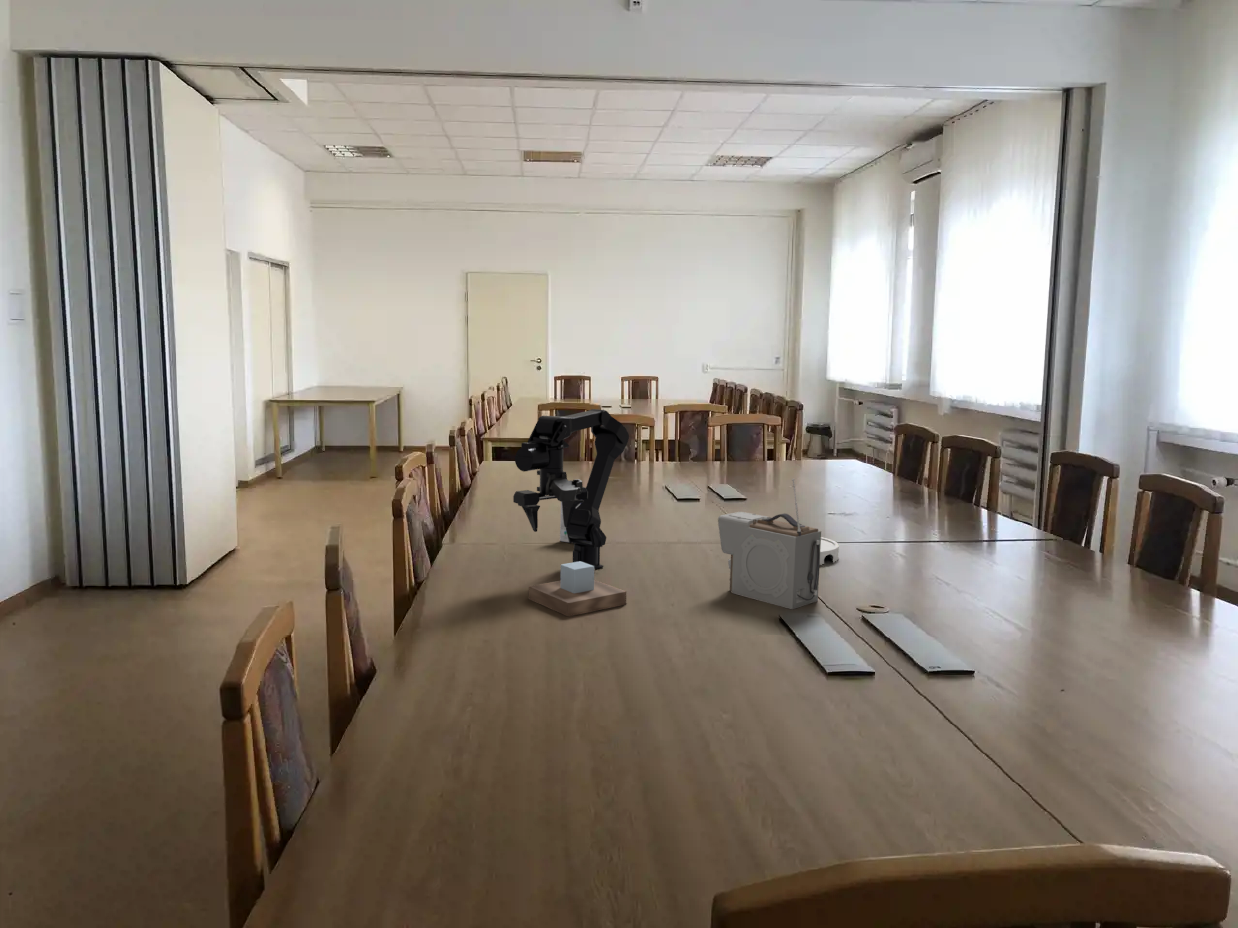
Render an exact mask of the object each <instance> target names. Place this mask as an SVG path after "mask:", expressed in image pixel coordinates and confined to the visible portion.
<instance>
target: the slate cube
mask: <svg viewBox="0 0 1238 928" xmlns="http://www.w3.org/2000/svg"><path fill="white" fill-rule="evenodd" d="M594 579H595V569H594V566H592V565H590V564H587V563H584V562H581V561H579V562H573V561H572V562H568V563H562V564H560V581H561V582H560V588H562V589H564V590H567V591H569V592H572V593H580V592H585V591H590V590H594Z"/></svg>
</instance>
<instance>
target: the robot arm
mask: <svg viewBox="0 0 1238 928" xmlns="http://www.w3.org/2000/svg"><path fill="white" fill-rule="evenodd" d="M589 428H590V432H591V434H592V435H593V436H594V437H595V438H594V447H595V452H596V455H595V457H594V458H595V459H594V462H593V463H592V464H593V465H592V468H591V471H590V474H589V478H588V481H587V482H586V486H585V487H584V486H583V481H582V480H581V479H580V478H578V479H576V478H575V479H573V480H569V479H568V475H567V472H566V471H564V449H567V448H569V447H570V445H569V444H568V443H567V442H566V441H565V439H567V438H569V437H571V435H572V433H574V432H578V431H582V430H585V429H589ZM629 438H630V435H629V432H628V430H627V428H626V427H625V426H624V425H623V424H622V423H621V422H620V421H619V420H617V419H616V418H615V417H613V416H611V414H610V413H609V411H607V410H605V409H599V408H591V409H589V410H587V411H586V410H585V411H582V412H578V413H574V414H573V413H572V414H568V415H565V416H561V415H560V416H558V415H557V416H556V415H541V416H539V417H538V419H537V421H536V423H535V425H534V427H533V430H532V431H531V434H530V435H529V437H528V440H527V442H521V447H520V448H519V449H518V450H517V451H516V453H515V455H514V462H515V465H516V466H515V467H517V469H518V470H520V471H521V472H523V473H524V472H529V471H536V475H537V476H539V486H536V491H533V490H529V489H525V490H517V491H515V492H514V494H513V496H512V500H513V503H514V504H517V505H518V507H521V508H522V510H523V512H524V513H525V515H526V517H527V519H528V521H529V525H530V526H531V529H532V530H533V532H535V533H536V532H538V527H539V526H538V525H539V524H538V522H539V519H538V511H539V509H540V507H541V505H539V502H540V501H544V500H553V499H554V500H555V499H557V501H559V502H560V503H561V502H562V508H563V521H564V526H565V527H566V531H567V535H568V540H569V542H568V543H569V544H573V550H572V563H573V562H579V561H581V562H584V563H587V564H590V565H592V566H594V570H595V569H601V568H604V565H603V564H601V548H602V547H603V546H605V545H606V542H607V536H606V535H605V533H604V532H603V530H602V529H601V523H602V519H601V515H600V507H601V504H602V501H603V498H604V495H605V491H606V488H607V486H608V485H607V484H608V482H609V479H610V475H611V472H612V470H613V467H614V462H615V460H616V459H617V458H618V457H620V455H622V453H624V452H625V449H626V446H627V444H628V442H629ZM580 503H581V504H580ZM579 504H580V505H579ZM578 505H579V506H578ZM577 506H578V507H577ZM576 507H577V508H576Z"/></svg>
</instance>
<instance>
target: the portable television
mask: <svg viewBox="0 0 1238 928" xmlns="http://www.w3.org/2000/svg"><path fill="white" fill-rule="evenodd" d="M791 481H792V486H793V493H794V494H793V495H794V504H795V505H794V506H795V514H796V515H795V516H796V520H795V519H794V517H792V516H791V515H790V514H788V513H785V512H784V513H780V514H776V515H774V516H772V517H771V516H767V515H761V514H756V513H751V512H745V511H736V512H731V513H726V514H722V515H721V514H720V515H719V516H718V518H717V523H718V524H717V525H718V534H719V539H720V546H721V547H720V549H721V551H722V553H724V554H727V555H730V559H728V560H727V563H728V569H729V570H730V571H729V572H730V574H729V592H731V593H732V594H734V595H739V596H741V597H745V598H750V599H753V600H757V601H758V602H759V601H760V602H764V603H767V604H771V605H774V606H778V607H782V608H786V609H790V610H795V609H798V608H801V607H804V606H807V605H809V604H813V603H816V602H818V601H819V581H820V568H821V567H820V566H821V565H820V547H821V537H822V531H821V530H819V528H815V527H811V526H807V525H804V524H801V523H800V518H799V517H800V516H799V512H798V511H799V509H798V502H797V496H796V489H795V478H792V479H791ZM780 518H782V519H784V520H785V521H786V522H784V521H779V520H777V519H780Z"/></svg>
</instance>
